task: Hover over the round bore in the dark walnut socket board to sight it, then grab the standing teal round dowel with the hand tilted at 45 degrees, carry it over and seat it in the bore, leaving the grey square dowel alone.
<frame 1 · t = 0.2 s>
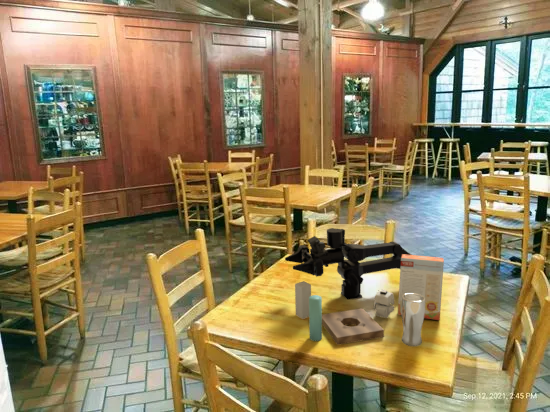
hand: (288, 263, 161), 17 cm above the table, tool horizontal, fingers open, 9 cm apart
cracker box: (418, 315, 154), on the table
beer glass: (411, 341, 137), on the table
round dowel: (315, 337, 141), on the table
white blocky figure: (383, 317, 154), on the table
socket board: (350, 328, 146), on the table
square dowel: (303, 315, 157), on the table
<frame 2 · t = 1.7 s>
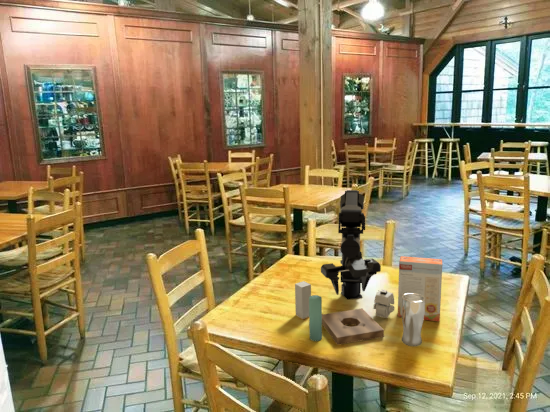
hand: (350, 292, 143), 13 cm above the table, tool pointing down, fingers open, 9 cm apart
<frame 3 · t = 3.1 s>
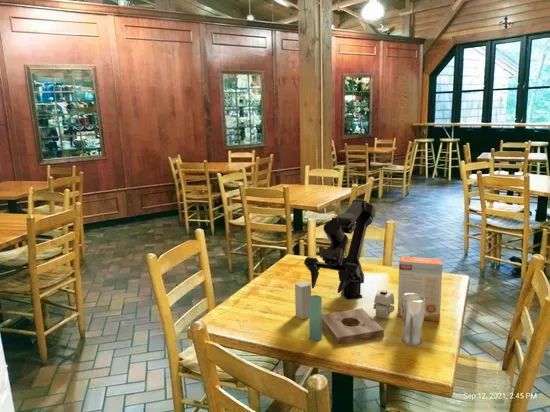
hand: (325, 290, 145), 13 cm above the table, tool tilted 45°, fingers open, 9 cm apart
nothing on the table moved.
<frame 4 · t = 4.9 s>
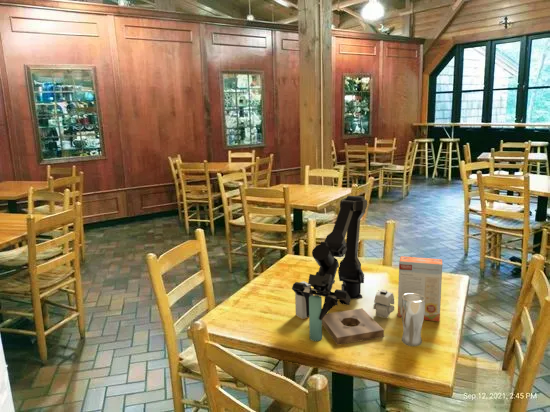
hand: (313, 318, 138), 8 cm above the table, tool tilted 45°, fingers closed on round dowel, 4 cm apart
round dowel: (315, 337, 141), on the table, touching gripper
everything else where it was.
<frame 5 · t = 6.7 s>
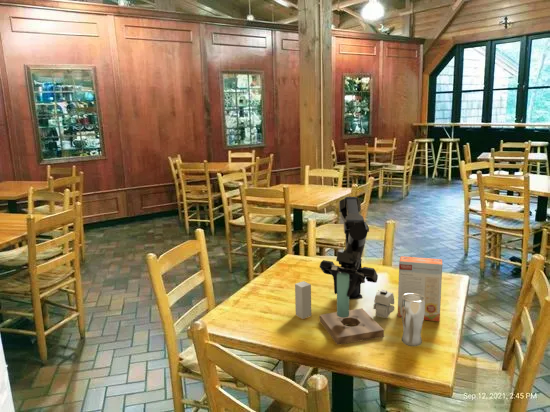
hand: (341, 295, 141), 13 cm above the table, tool tilted 45°, fingers closed on round dowel, 4 cm apart
round dowel: (343, 314, 144), point 6 cm above the table, touching gripper
everything else where it was.
when the fingers open (9 cm above the table, at t = 8.2 s): round dowel drops 2 cm, resting in socket board.
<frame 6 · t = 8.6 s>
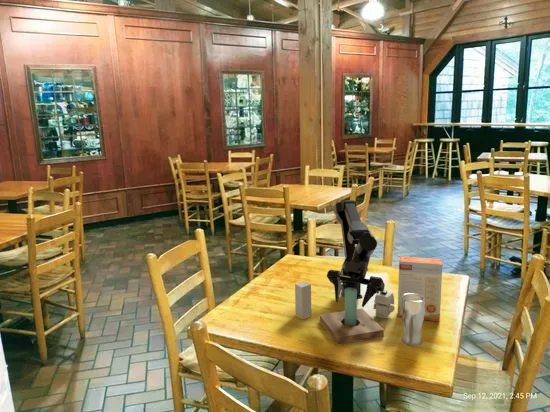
hand: (349, 304, 143), 10 cm above the table, tool tilted 45°, fingers open, 9 cm apart
round dowel: (350, 328, 146), resting in socket board
everything else where it was.
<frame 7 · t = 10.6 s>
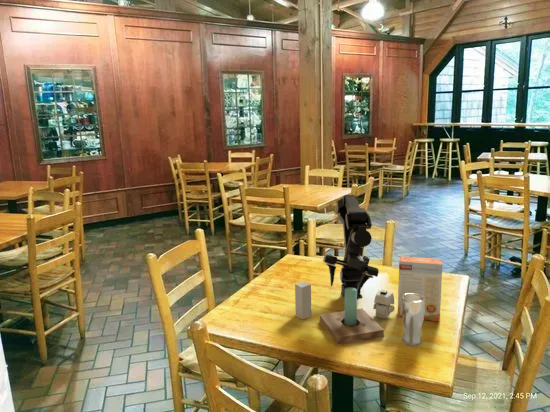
hand: (344, 289, 151), 11 cm above the table, tool tilted 25°, fingers open, 9 cm apart
nothing on the table moved.
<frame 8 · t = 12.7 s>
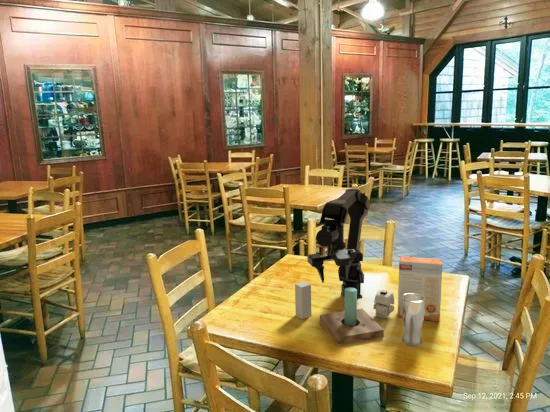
hand: (335, 280, 153), 13 cm above the table, tool pointing down, fingers open, 9 cm apart
nothing on the table moved.
at the end: round dowel 0.1 cm off-centre on the socket board, point 0.0 cm above the socket board's base; round dowel tilted 0°; the gripper is holding nothing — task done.
